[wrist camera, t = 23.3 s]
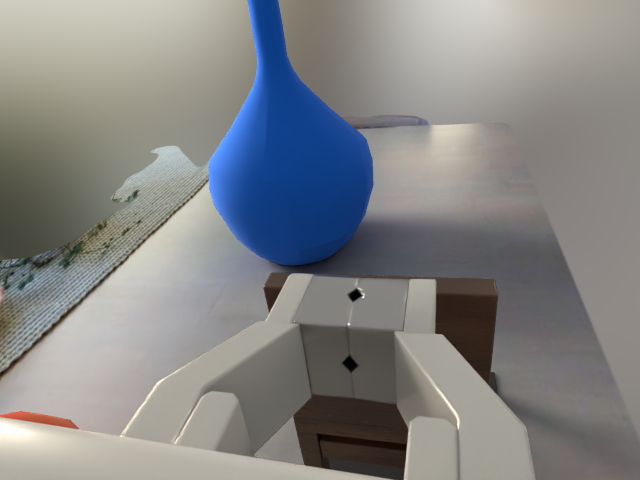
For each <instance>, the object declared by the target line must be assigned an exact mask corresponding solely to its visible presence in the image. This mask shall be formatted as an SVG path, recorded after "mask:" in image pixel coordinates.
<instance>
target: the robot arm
mask: <svg viewBox="0 0 640 480" xmlns="http://www.w3.org/2000/svg"><path fill="white" fill-rule="evenodd" d="M435 317H436V280H435V279H410V280H409V279H380V278H361V277H349V276H334V275H319V274H315V275H314V274H300V273H293V274H291V275H289V276H288V278H287V280H286V282H285V284H284V286H283V288H282V290H281V292H280V294H279V296H278V298H277V300H276V301H275V303H274V305H273V307H272V309H271V311H270V313H269V315H268V317H267V319H266V321H257V322H256V323H254V324H253V325H251V326H249V327H248V328H246V329H244V330H243V331H241V332H239V333H238V334H236V335H234V336H233V337H231V338H229V339H228V340H226V341H224V342H223V343H221V344H220V345H218V346H216V347H215V348H213V349H211V350H210V351H208V352H206V353H205V354H203V355H201V356H200V357H198V358H196V359H195V360H193V361H191V362H190V363H188V364H187V365H185V366H183V367H182V368H180V369H178V370H177V371H175V372H173V373H172V374H170V375H168V376H167V377H165V378H163V379H162V380H160V381H158V382H157V384H156V385H155V386H154V388H153V389H152V391H151V392H150V394H149V395H148V396H147V398H146V399H145V401H144V402H143V404H142V405H141V406H140V408H139V409H138V411H137V412H136V414H135V415H134V416H133V418H132V419H131V421H130V422H129V424H128V425H127V426H126V428H125V429H124V431H123V432H122V434H121V435H120V436H117V435H110V434H104V433H98V432H92V431H85V430H79V429H73V428H66V427H60V426H54V425H48V424H41V423H35V422H29V421H22V420H16V419H10V418H4V417H0V480H393V479H386V478H380V477H374V476H368V475H361V474H355V473H349V472H343V471H336V470H330V469H324V468H317V467H311V466H305V465H299V464H292V463H286V462H280V461H274V460H267V459H261V458H255V456H254V454H255V453H256V452H257V451H258V450H259V449H260V448H261V447H262V446H263V445H264V444H265V443H266V442H267V441H268V440H269V439H270V438H271V437H272V436H273V435H274V434H275V433H276V432H277V431H278V430H279V429H280V428H281V427H282V426H283V425H284V424H285V423H286V422H287V421H288V420H289V419H290V418H291V417H292V416H293V415H294V414H295V413H296V412H297V411H298V410H299V409H300V408H301V407H302V406H303V405H304V404H305V403H306V402H307V401H308V400H309V399H310V398H311V397H312V396H311V395H322V396H334V397H345V398H355V399H362V400H369V401H376V402H383V403H390V404H397V408H398V410H399V411H400V413H401V415H402V417H403V419H404V421H405V423H406V425H407V427H408V429H409V431H408V442H407V452H406V462H405V472H404V480H536V479H535V473H534V468H533V462H532V457H531V451H530V445H529V440H528V434H527V428H526V426H525V425H524V424H523V423H522V422H521V421H520V420H519V419H518V418H517V416H516V415H515V414H514V413H513V412H512V411H511V410H510V409H509V408H508V406H507V405H506V404H505V403H504V402H503V401H502V400H501V399H500V398H499V396H498V395H497V394H496V393H495V392H494V391H493V390H492V389H491V388H490V386H489V385H488V384H487V383H486V382H485V381H484V380H483V379H482V378H481V376H480V375H479V374H478V373H477V372H476V371H475V370H474V369H473V368H472V366H471V365H470V364H469V363H468V362H467V361H466V360H465V359H464V358H463V356H462V355H461V354H460V353H459V352H458V351H457V350H456V349H455V348H454V346H453V345H452V344H451V343H450V342H449V341H448V340H447V339H446V338H445V336H444V335H442V334H435Z"/></svg>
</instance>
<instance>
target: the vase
mask: <svg viewBox="0 0 640 480" xmlns="http://www.w3.org/2000/svg"><path fill="white" fill-rule="evenodd" d="M248 6H249V12H250V18H251V25H252V31H253V37H254V42H255V47H256V53H257V59H258V64H257V75H256V78H255V81H254V85H253V88H252V90H251V92H250V94H249V96H248V97H247V99H246V101H245V103H244V105H243V106H242V108H241V110H240V112H239V114H238V116H237V117H236V119H235V121H234V123H233V125H232V127H231V128H230V130H229V131H228V133H227V134H226V136H225V137H224V139H223V140H222V142H221V144H220V145H219V147H218V148H217V150H216V151H215V153H214V154H213V156H212V157H211V159H210V162H209V189H210V192H211V196H212V199H213V203H214V206H215V207H216V209H217V210H218V212H219V214H220V215H221V216H222V218H223V219H224V221H225V222H226V224H227V225H228V227H229V228H230V229H231V231H232V232H233V234H234V235H235V237H236V238H237V239H238V240H239V241H240V242H241V243H243V244H244V245H245V246H246V247H248V248H249V249H250V250H251V251H252V252H254V253H256V254H257V255H259V256H260V257H262V258H265V259H267V260H269V261H272V262H275V263H278V264H282V265H305V264H310V263H315V262H318V261H321V260H323V259H326V258H328V257H329V256H331V255H333V254H335V253H336V252H337V251H338V250H339V249H340V248H341V247H342V246H343V245H344V244H346V243H347V242H348V241H349V240H350V239H351V237H352V236H353V234H354V232H355V231H356V229H357V227H358V226H359V224H360V222H361V221H362V219H363V217H364V215H365V213H366V209H367V206H368V202H369V199H370V195H371V191H372V188H373V161H372V156H371V153H370V150H369V146H368V143H367V140H366V139H365V137H364V136H363V135H362V134H361V133H360V132H358V131H357V130H356V129H355V128H354V127H352V126H351V125H350V124H349V123H347V122H346V121H345V120H344V119H342V118H341V117H340V116H339V115H338V114H336V113H335V112H334V111H333V110H331V109H330V108H329V107H328V106H327V105H326V104H325V103H324V102H323V101H322V100H321V99H320V98H319V97H318V96H316V95H315V94H314V93H313V92H312V91H311V90H310V89H309V88H308V87H307V86H306V85H305V84H304V83H303V82H302V81H301V80H300V79H299V77H298V76H297V74H296V73H295V71H294V70H293V69H292V66H291V64H290V61H289V59H288V57H287V52H286V45H285V39H284V32H283V25H282V20H281V14H280V8H279V3H278V0H248Z"/></svg>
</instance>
